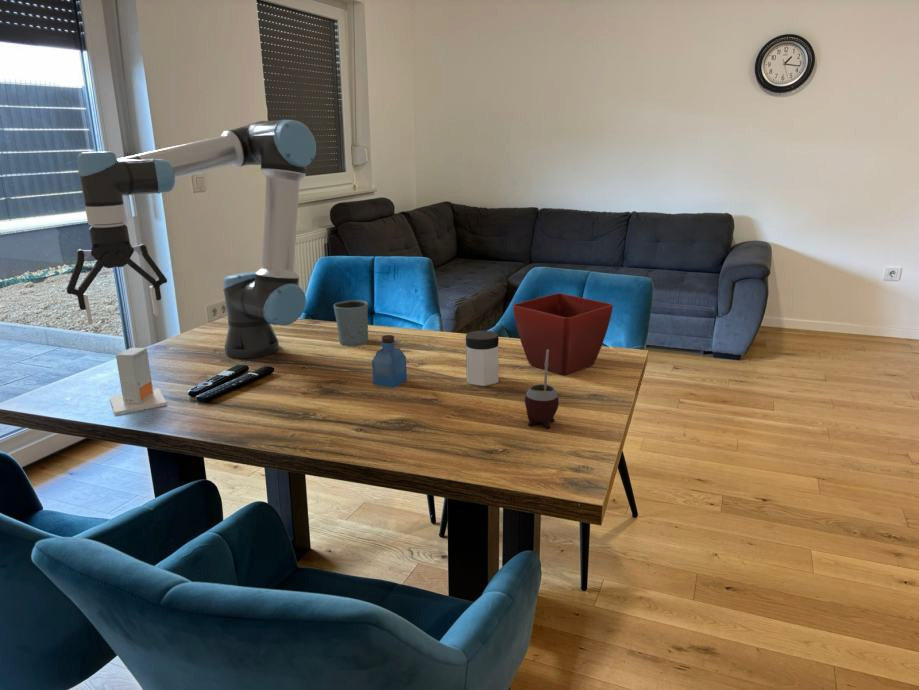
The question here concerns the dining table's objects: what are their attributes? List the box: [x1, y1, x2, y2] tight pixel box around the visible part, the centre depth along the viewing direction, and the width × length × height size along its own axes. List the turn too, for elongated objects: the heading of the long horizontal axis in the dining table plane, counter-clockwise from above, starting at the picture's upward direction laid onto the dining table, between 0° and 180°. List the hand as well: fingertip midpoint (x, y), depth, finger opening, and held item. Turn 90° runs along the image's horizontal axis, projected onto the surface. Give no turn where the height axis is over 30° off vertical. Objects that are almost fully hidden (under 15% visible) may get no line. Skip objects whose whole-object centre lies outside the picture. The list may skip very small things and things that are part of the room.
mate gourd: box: [524, 349, 560, 430], centre depth 142 cm, size 8×8×15 cm
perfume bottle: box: [371, 334, 408, 389], centre depth 168 cm, size 6×6×12 cm
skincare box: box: [115, 347, 154, 404], centre depth 157 cm, size 6×4×12 cm
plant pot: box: [512, 292, 614, 376], centre depth 177 cm, size 19×19×17 cm
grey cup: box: [333, 299, 369, 347], centre depth 202 cm, size 10×10×12 cm
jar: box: [465, 330, 500, 387], centre depth 168 cm, size 9×8×12 cm
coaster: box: [109, 388, 168, 416], centre depth 159 cm, size 11×11×1 cm
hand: (124, 318), depth 153 cm, fingers open, 13 cm apart
